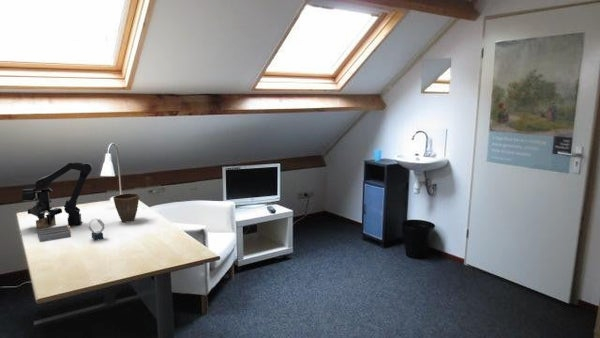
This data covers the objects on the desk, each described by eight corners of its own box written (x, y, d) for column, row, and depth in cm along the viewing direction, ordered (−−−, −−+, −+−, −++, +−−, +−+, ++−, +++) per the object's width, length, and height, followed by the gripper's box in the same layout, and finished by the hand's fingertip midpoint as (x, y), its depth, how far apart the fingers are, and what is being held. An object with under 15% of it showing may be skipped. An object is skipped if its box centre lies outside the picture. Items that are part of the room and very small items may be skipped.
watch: (107, 237, 224) (105, 218, 222) (91, 241, 219) (89, 221, 217) (103, 235, 228) (102, 216, 226) (88, 238, 223) (86, 219, 221)
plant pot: (134, 224, 250) (132, 198, 247) (110, 224, 250) (108, 198, 248) (144, 217, 265) (142, 193, 262) (121, 217, 265) (119, 193, 262)
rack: (38, 234, 230) (37, 227, 229) (68, 229, 239) (67, 223, 238) (40, 241, 218) (39, 234, 217) (72, 236, 227) (71, 229, 226)
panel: (52, 224, 249) (51, 215, 248) (55, 224, 249) (54, 215, 248) (36, 230, 238) (35, 220, 237) (40, 230, 237) (39, 220, 236)
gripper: (18, 202, 234) (21, 228, 237) (47, 203, 231) (50, 229, 234) (33, 197, 245) (36, 222, 248) (61, 198, 242) (64, 224, 245)
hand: (46, 224), depth 243 cm, fingers open, 4 cm apart
